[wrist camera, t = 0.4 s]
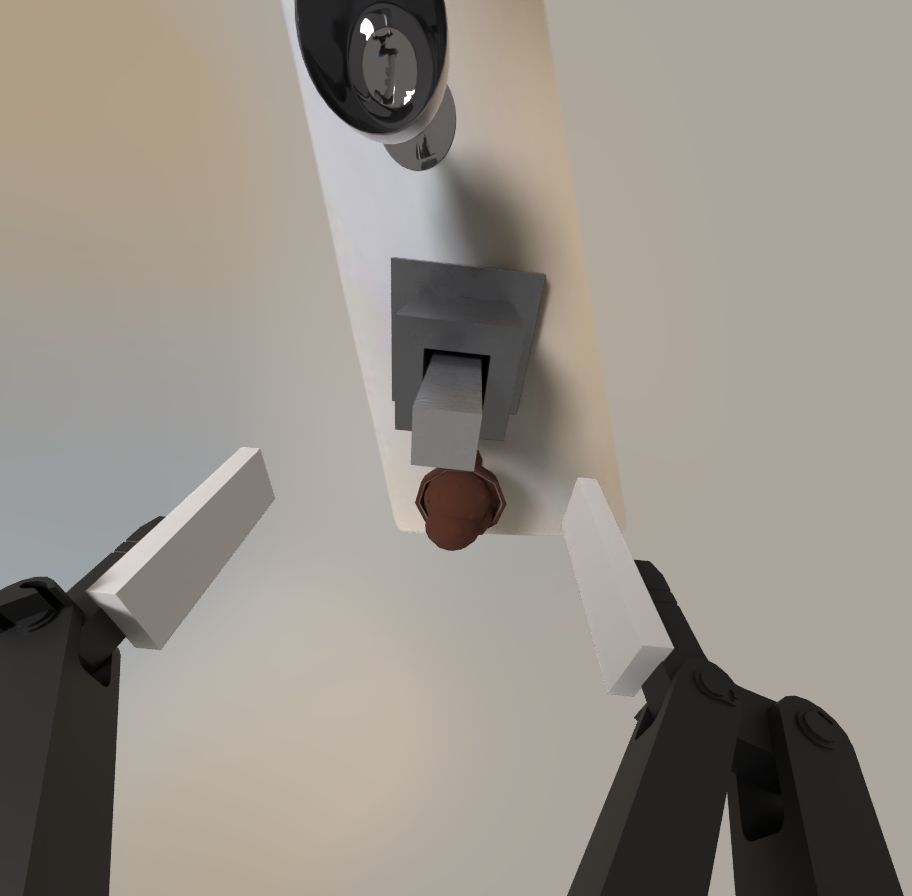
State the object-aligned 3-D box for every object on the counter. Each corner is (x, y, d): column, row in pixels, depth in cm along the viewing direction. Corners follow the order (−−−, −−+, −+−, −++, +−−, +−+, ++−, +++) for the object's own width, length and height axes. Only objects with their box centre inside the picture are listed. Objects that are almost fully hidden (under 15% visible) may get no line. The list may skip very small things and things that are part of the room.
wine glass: (478, 106, 30) (479, 5, 17) (427, 196, 33) (395, 169, 20) (402, 26, 27) (336, -160, 15) (356, 131, 31) (271, 56, 18)
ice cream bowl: (500, 489, 52) (507, 571, 39) (427, 488, 52) (411, 569, 40) (503, 428, 46) (512, 500, 33) (422, 428, 47) (401, 499, 34)
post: (443, 324, 37) (410, 404, 19) (481, 328, 37) (485, 412, 19) (440, 362, 39) (408, 466, 21) (476, 366, 39) (476, 473, 21)
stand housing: (394, 257, 36) (349, 266, 24) (543, 273, 36) (578, 291, 24) (394, 396, 45) (361, 457, 32) (515, 409, 45) (530, 475, 32)
